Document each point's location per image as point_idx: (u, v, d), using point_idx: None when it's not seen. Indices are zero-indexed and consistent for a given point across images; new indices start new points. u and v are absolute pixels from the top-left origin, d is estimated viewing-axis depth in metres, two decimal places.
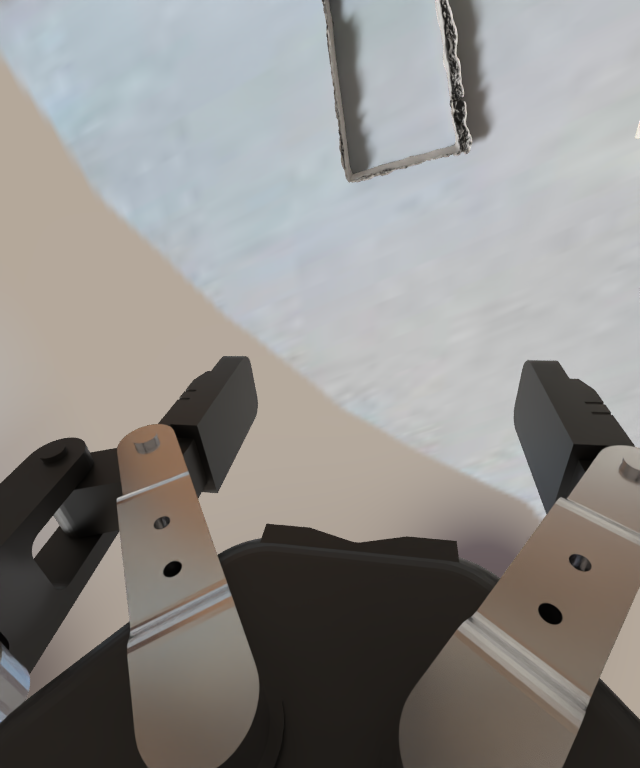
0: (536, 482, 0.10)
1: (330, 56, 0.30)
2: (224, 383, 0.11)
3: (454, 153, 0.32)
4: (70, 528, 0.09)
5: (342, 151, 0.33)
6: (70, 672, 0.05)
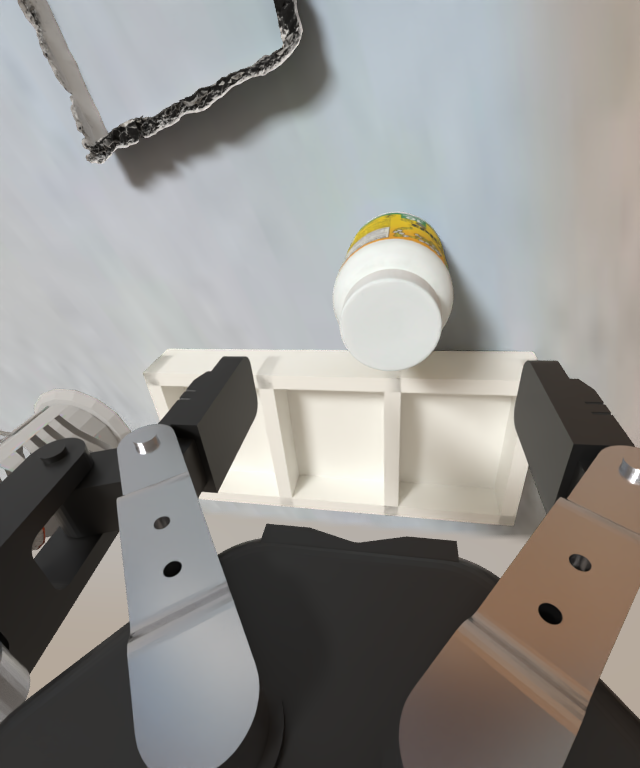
0: (536, 482, 0.10)
1: None
2: (224, 383, 0.11)
3: (87, 139, 0.22)
4: (70, 528, 0.09)
5: None
6: (70, 672, 0.05)
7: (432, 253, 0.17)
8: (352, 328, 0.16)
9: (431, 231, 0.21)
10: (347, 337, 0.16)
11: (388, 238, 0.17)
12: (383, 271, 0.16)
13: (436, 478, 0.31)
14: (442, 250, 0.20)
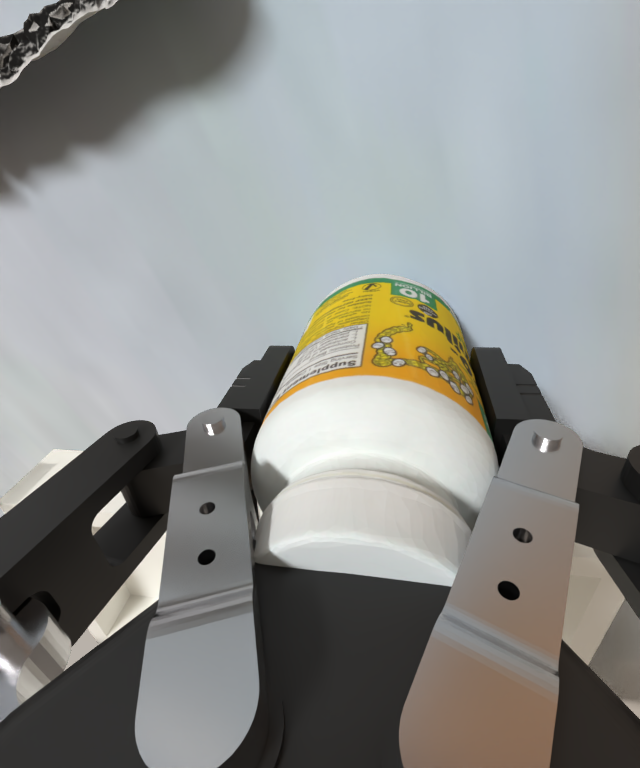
0: None
1: None
2: (277, 370, 0.11)
3: None
4: (134, 506, 0.09)
5: None
6: (70, 672, 0.05)
7: (458, 412, 0.07)
8: None
9: (446, 318, 0.11)
10: None
11: (360, 371, 0.08)
12: (342, 487, 0.06)
13: None
14: (467, 357, 0.11)
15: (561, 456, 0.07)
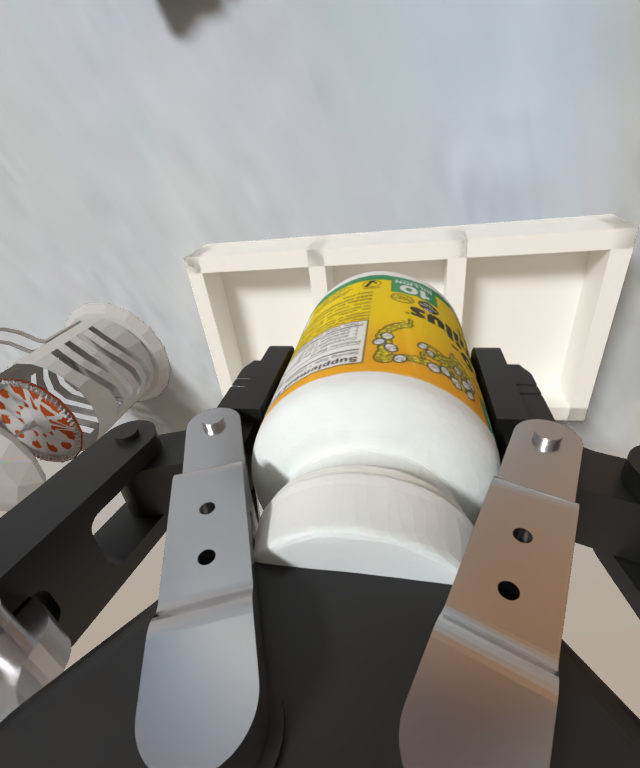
0: None
1: None
2: (276, 370, 0.11)
3: None
4: (134, 506, 0.09)
5: None
6: (69, 672, 0.05)
7: (460, 408, 0.07)
8: None
9: (446, 315, 0.11)
10: None
11: (361, 367, 0.08)
12: (344, 483, 0.06)
13: None
14: (468, 354, 0.11)
15: (561, 456, 0.07)
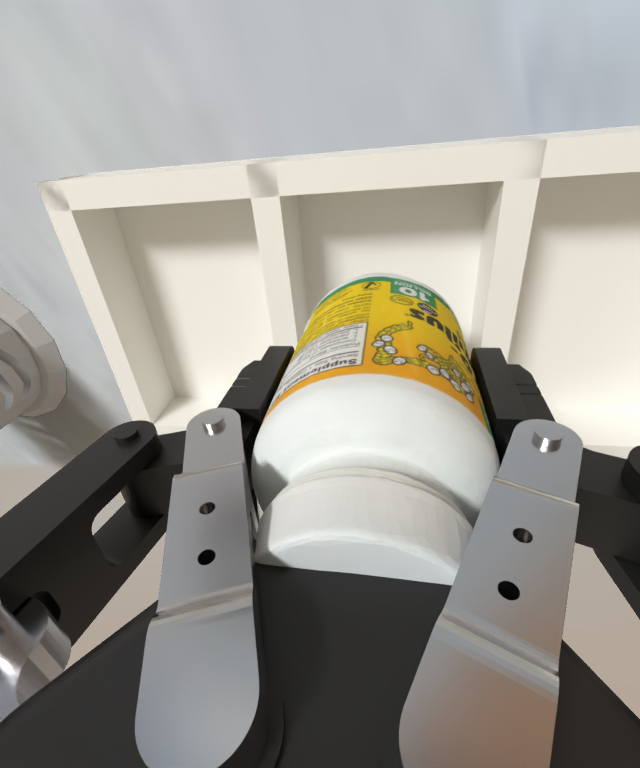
0: None
1: None
2: (276, 370, 0.11)
3: None
4: (134, 507, 0.09)
5: None
6: (69, 671, 0.05)
7: (459, 410, 0.07)
8: None
9: (446, 316, 0.11)
10: None
11: (361, 369, 0.08)
12: (343, 485, 0.06)
13: (550, 397, 0.18)
14: (467, 355, 0.11)
15: (561, 456, 0.07)
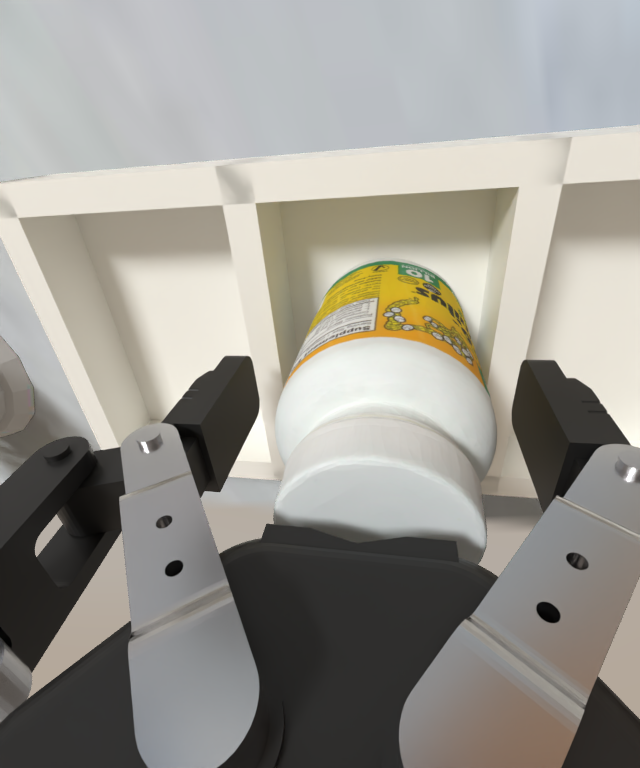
0: (533, 481, 0.10)
1: None
2: (226, 382, 0.11)
3: None
4: (73, 527, 0.09)
5: None
6: (69, 671, 0.05)
7: (460, 368, 0.09)
8: None
9: (448, 296, 0.12)
10: None
11: (374, 334, 0.09)
12: (362, 425, 0.07)
13: None
14: (468, 331, 0.12)
15: None
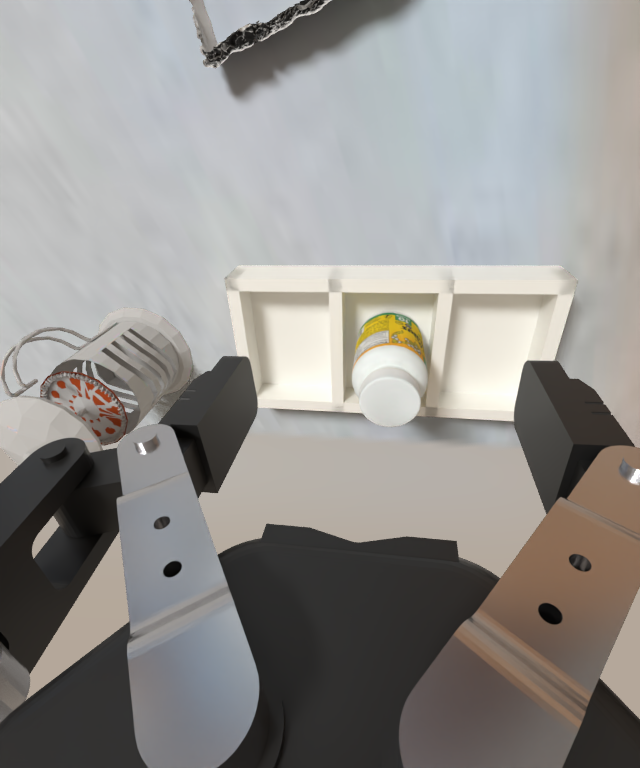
0: (536, 482, 0.10)
1: None
2: (224, 383, 0.11)
3: (204, 47, 0.26)
4: (70, 528, 0.09)
5: None
6: (69, 672, 0.05)
7: (415, 355, 0.28)
8: (367, 402, 0.27)
9: (414, 328, 0.31)
10: (363, 407, 0.27)
11: (389, 344, 0.28)
12: (386, 370, 0.26)
13: (468, 386, 0.36)
14: (421, 343, 0.31)
15: None
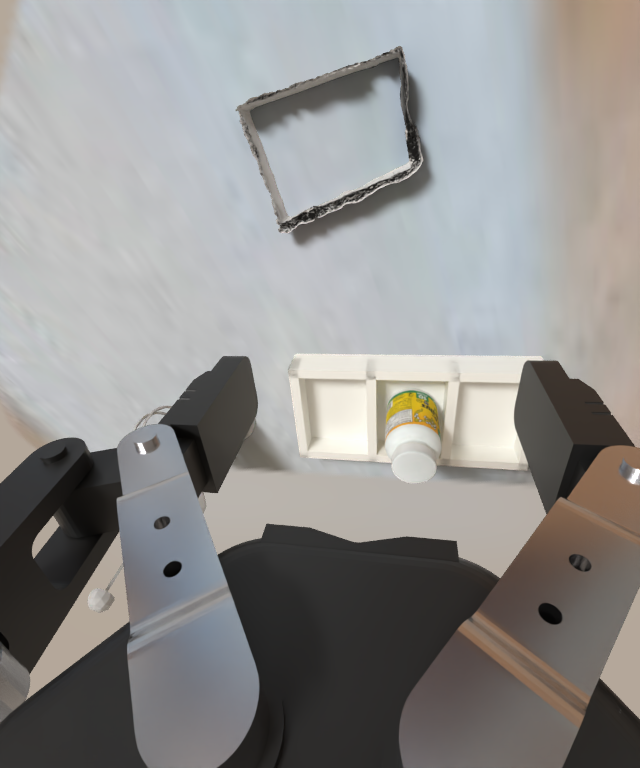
0: (536, 482, 0.10)
1: (339, 70, 0.29)
2: (224, 383, 0.11)
3: (278, 219, 0.36)
4: (70, 528, 0.09)
5: (261, 97, 0.31)
6: (70, 671, 0.05)
7: (432, 431, 0.38)
8: (397, 467, 0.37)
9: (431, 404, 0.42)
10: (395, 470, 0.37)
11: (412, 422, 0.38)
12: (411, 445, 0.37)
13: (474, 441, 0.46)
14: (436, 415, 0.41)
15: None
